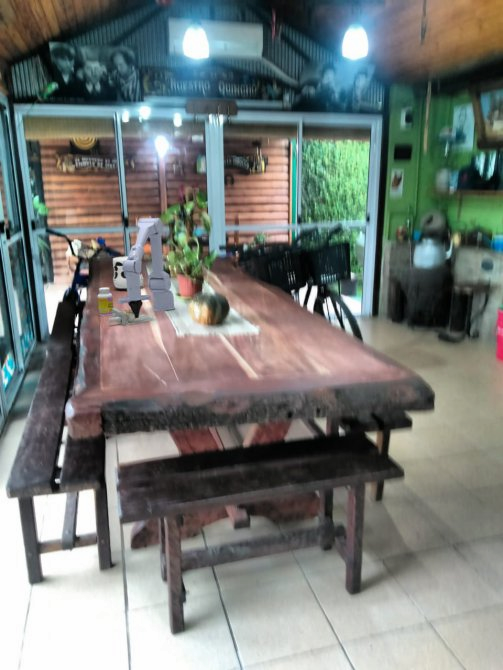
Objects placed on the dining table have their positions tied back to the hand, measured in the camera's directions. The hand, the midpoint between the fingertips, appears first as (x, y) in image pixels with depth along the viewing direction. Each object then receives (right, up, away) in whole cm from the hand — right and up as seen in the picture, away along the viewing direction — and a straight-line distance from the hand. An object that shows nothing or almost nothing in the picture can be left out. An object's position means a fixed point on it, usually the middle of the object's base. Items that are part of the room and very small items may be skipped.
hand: (136, 317), depth 230 cm
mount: (-2, -1, +4) cm, 4 cm away
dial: (-4, -1, +2) cm, 5 cm away
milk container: (-21, +19, +77) cm, 82 cm away
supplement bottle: (-17, +1, +15) cm, 23 cm away
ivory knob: (-6, -2, -3) cm, 7 cm away
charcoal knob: (-6, 0, +5) cm, 8 cm away
